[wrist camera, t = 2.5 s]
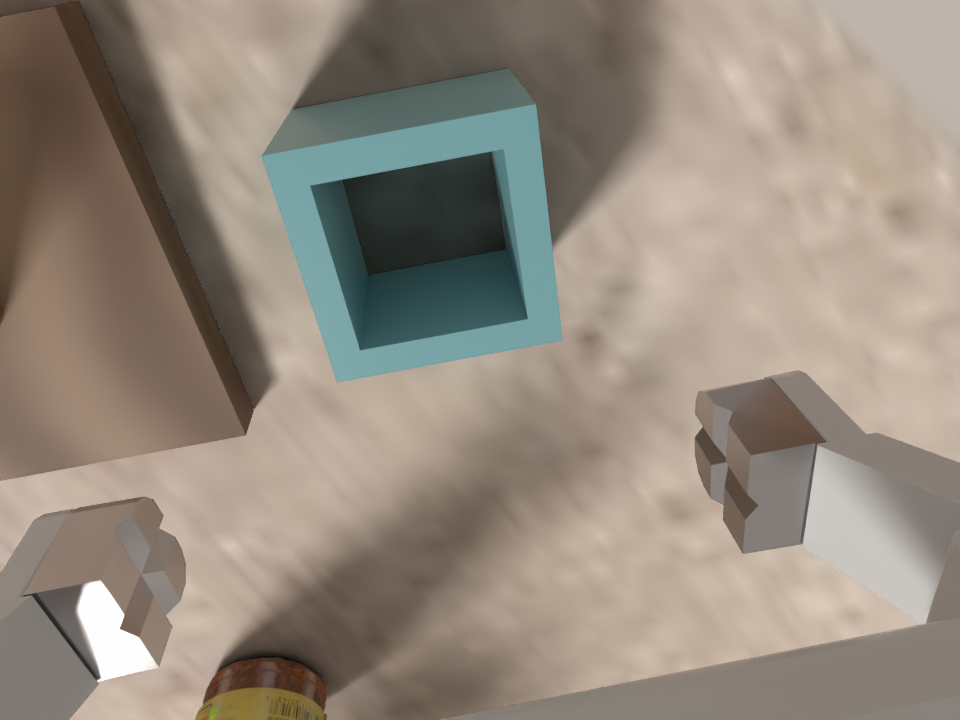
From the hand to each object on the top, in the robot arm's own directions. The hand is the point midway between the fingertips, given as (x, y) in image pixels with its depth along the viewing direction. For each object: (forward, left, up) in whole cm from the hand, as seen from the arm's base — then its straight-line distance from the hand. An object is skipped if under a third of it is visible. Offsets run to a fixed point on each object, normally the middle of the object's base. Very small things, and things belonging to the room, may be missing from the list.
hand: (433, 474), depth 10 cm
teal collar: (0, 0, -14) cm, 14 cm away
